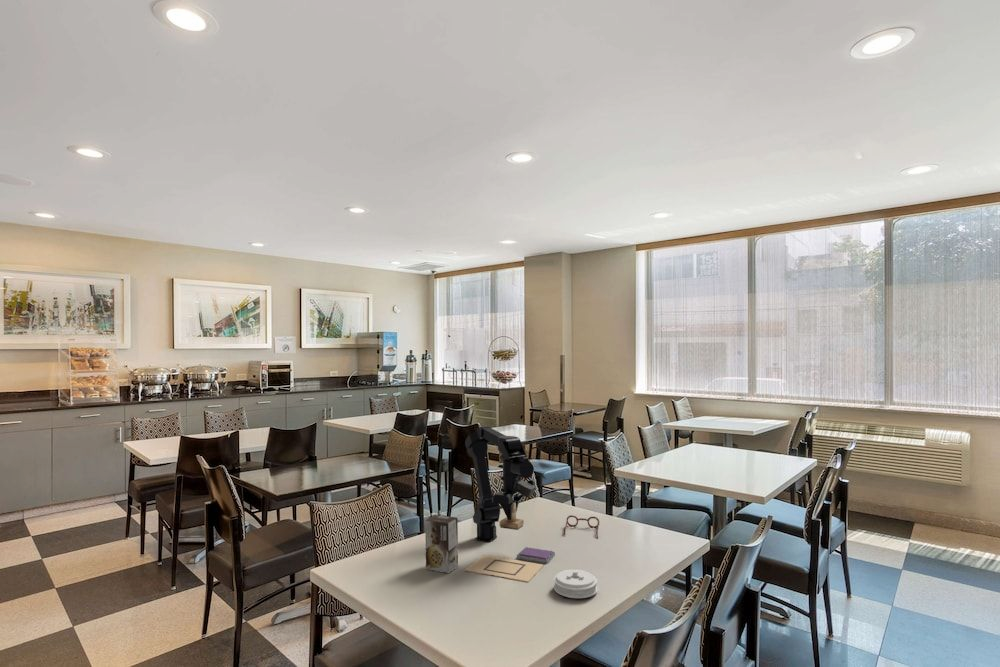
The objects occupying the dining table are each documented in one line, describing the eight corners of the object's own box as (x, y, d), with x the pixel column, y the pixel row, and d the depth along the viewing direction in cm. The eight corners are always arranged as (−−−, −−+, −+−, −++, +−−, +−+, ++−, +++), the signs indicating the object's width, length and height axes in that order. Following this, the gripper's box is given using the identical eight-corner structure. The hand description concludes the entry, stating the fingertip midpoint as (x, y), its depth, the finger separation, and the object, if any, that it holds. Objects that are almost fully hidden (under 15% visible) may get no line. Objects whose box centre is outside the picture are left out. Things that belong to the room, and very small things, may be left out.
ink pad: (516, 558, 182) (516, 554, 182) (525, 550, 189) (525, 546, 189) (547, 563, 177) (547, 558, 177) (554, 555, 185) (554, 550, 185)
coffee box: (458, 566, 175) (458, 517, 176) (449, 574, 170) (448, 522, 170) (435, 562, 179) (435, 514, 180) (424, 569, 173) (424, 519, 174)
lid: (583, 579, 165) (583, 563, 165) (605, 597, 153) (605, 579, 153) (546, 586, 160) (546, 569, 161) (566, 604, 149) (566, 586, 149)
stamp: (499, 527, 186) (499, 504, 187) (505, 523, 191) (505, 500, 191) (517, 530, 183) (517, 506, 184) (523, 526, 188) (523, 502, 188)
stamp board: (464, 570, 172) (464, 569, 172) (484, 555, 185) (484, 554, 185) (528, 582, 163) (528, 580, 163) (543, 565, 176) (543, 564, 176)
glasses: (599, 528, 214) (599, 516, 214) (598, 539, 201) (598, 526, 201) (566, 526, 217) (566, 514, 217) (563, 537, 204) (563, 524, 204)
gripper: (521, 480, 176) (522, 528, 175) (541, 470, 193) (542, 513, 192) (491, 478, 181) (491, 524, 180) (513, 467, 198) (514, 510, 197)
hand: (511, 518), depth 187 cm, fingers closed on stamp, 3 cm apart
